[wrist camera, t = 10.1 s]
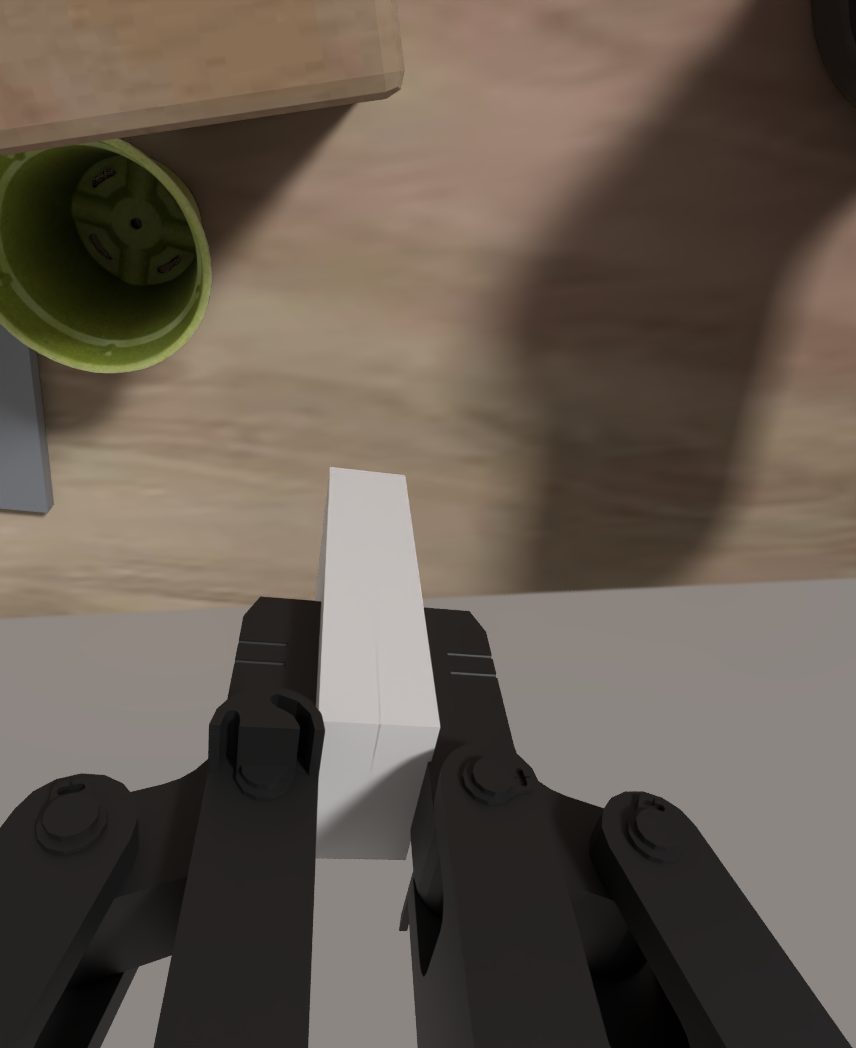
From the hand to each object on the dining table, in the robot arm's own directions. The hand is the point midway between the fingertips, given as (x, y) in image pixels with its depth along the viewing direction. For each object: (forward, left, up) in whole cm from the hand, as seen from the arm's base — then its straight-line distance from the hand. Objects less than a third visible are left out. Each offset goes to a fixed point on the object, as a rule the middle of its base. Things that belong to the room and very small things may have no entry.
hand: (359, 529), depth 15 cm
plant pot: (0, -10, -27) cm, 29 cm away
